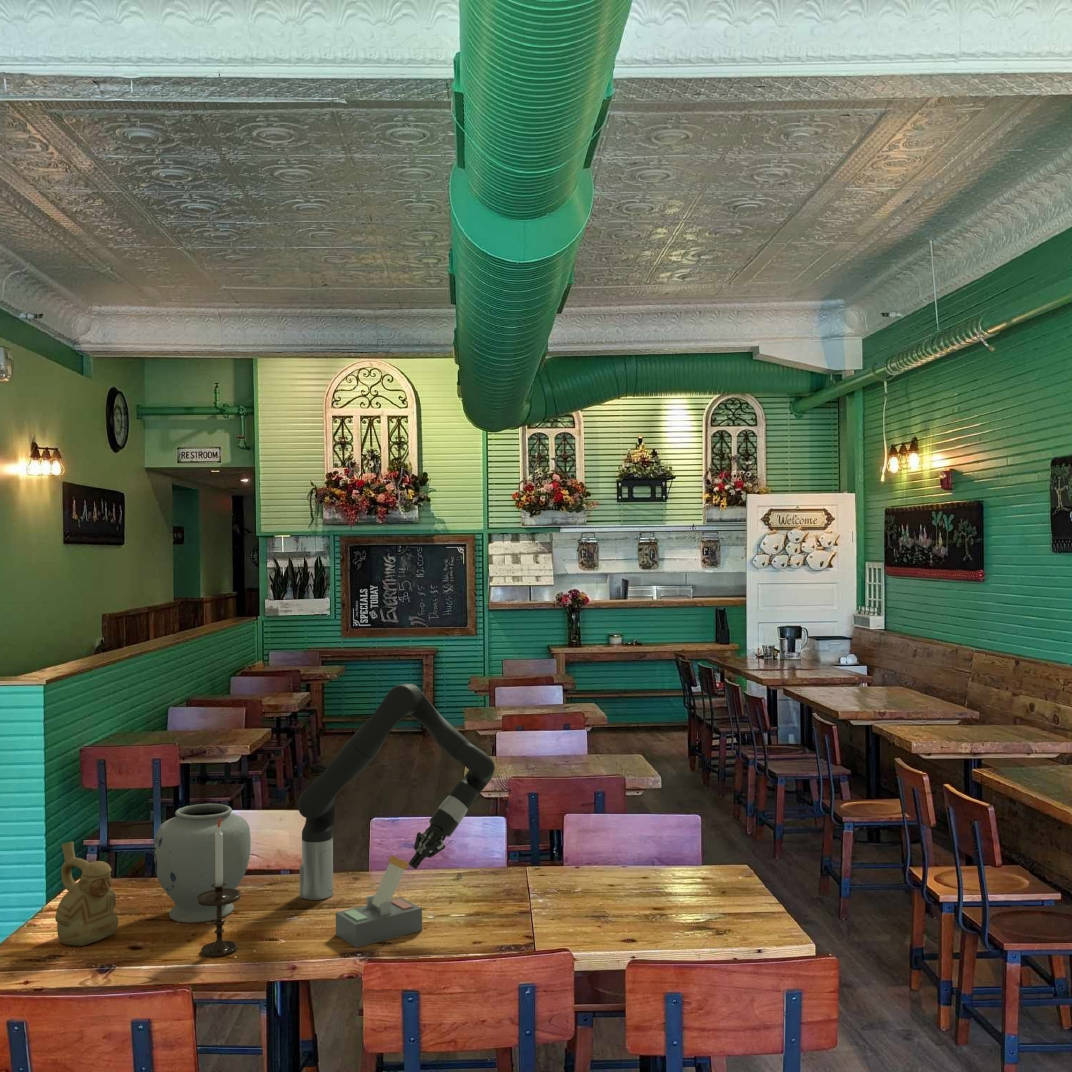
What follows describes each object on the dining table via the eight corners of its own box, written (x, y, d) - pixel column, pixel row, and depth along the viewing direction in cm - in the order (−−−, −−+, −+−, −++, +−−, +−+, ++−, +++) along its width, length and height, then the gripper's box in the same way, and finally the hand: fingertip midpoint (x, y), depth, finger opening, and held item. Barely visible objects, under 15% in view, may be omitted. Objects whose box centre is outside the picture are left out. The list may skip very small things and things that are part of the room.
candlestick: (248, 949, 262) (248, 815, 263) (210, 962, 254) (210, 823, 255) (227, 939, 269) (226, 808, 270) (189, 951, 261) (189, 816, 262)
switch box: (355, 947, 262) (355, 913, 263) (335, 934, 272) (335, 901, 272) (422, 930, 274) (421, 897, 275) (400, 918, 284) (400, 886, 284)
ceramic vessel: (78, 955, 260) (78, 858, 261) (35, 941, 270) (35, 847, 271) (135, 934, 274) (135, 842, 275) (91, 921, 285) (91, 833, 286)
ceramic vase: (234, 891, 310) (233, 794, 310) (264, 915, 288) (263, 810, 289) (143, 909, 294) (143, 807, 295) (168, 936, 272) (168, 825, 273)
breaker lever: (380, 910, 270) (402, 860, 275) (369, 904, 275) (391, 854, 280) (386, 913, 271) (409, 863, 276) (375, 907, 276) (397, 857, 281)
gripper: (428, 803, 291) (392, 853, 284) (453, 812, 281) (415, 864, 273) (444, 819, 294) (408, 869, 287) (469, 828, 284) (432, 880, 276)
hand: (412, 866), depth 280 cm, fingers closed
